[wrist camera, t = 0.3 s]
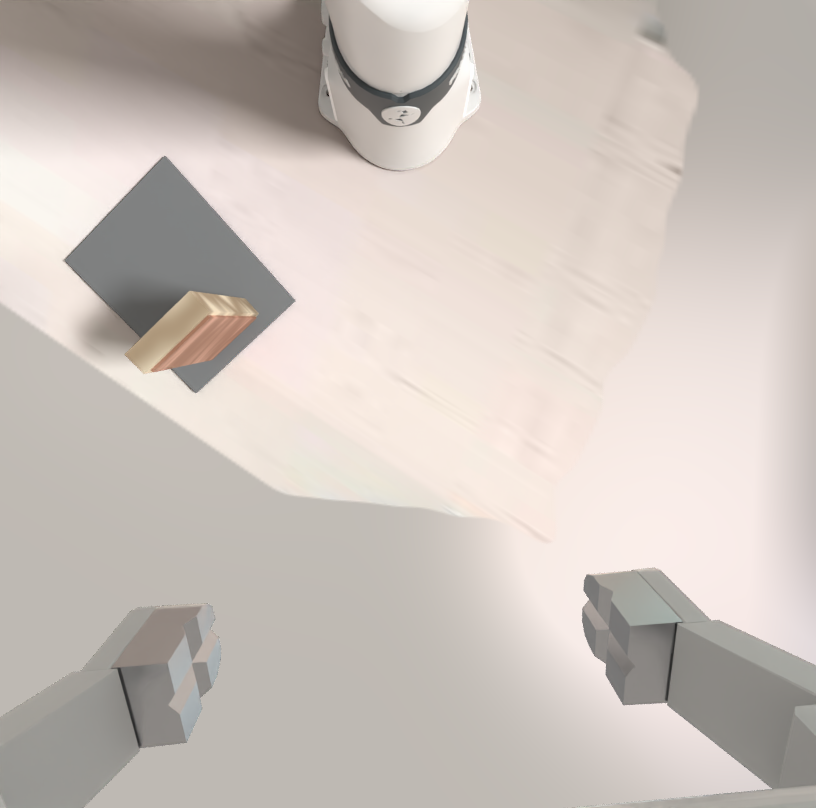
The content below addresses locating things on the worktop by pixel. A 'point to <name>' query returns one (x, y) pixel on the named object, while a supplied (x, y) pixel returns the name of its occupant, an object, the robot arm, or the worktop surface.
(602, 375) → the worktop surface
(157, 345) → the flat wooden block
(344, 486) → the worktop surface
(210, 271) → the rubber mat
